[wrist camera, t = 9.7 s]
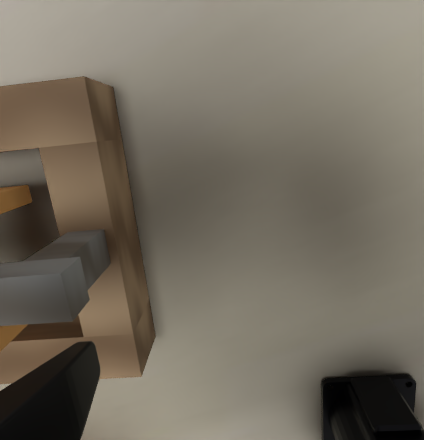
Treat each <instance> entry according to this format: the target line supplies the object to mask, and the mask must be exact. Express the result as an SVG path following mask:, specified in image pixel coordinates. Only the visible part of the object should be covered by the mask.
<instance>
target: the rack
mask: <svg viewBox="0 0 424 440" xmlns="http://www.w3.org/2000/svg"><path fill="white" fill-rule="evenodd" d="M34 148H39V152H40V156H41V160H42V164H43V168H44V172H45V177H46V181H47V185H48V189H49V193H50V198H51V202H52V206H53V210H54V214H55V219H56V223H57V227H58V231H59V235H60V238H58V239H56V240H55V241H53V242H52V243H50V244H49V245H47V246H46V247H44V248H42V249H41V250H39V251H38V252H36V253H35V254H33V255H32V256H30V257H28V258H27V259H25V260H24V261H21V262H9V263H0V326H10V325H26V324H28V325H27V326H26V327H25V328H24V329H23V330H22V331H21V332H20V333H19V334H18V335H17V336H16V337H15V338H14V339H13V340H12V341H11V342H10V343H9V344H8V345H7V346H6V347H5V348H4V349H3V350H2V351H1V352H0V384H9V383H14V382H15V381H17V380H18V379H20V378H22V377H23V376H25V375H26V374H28V373H29V372H31V371H32V370H34V369H36V368H37V367H39V366H40V365H42V364H43V363H45V362H47V361H48V360H50V359H51V358H53V357H54V356H56V355H58V354H59V353H61V352H62V351H64V350H65V349H67V348H69V347H70V346H72V345H73V344H75V343H77V342H82V341H92V342H94V344H95V346H96V350H97V355H98V359H99V363H100V377H99V379H107V378H126V377H142V374H143V371H144V368H145V365H146V362H147V359H148V356H149V354H150V351H151V348H152V345H153V342H154V339H155V330H154V325H153V319H152V313H151V307H150V301H149V295H148V289H147V283H146V278H145V272H144V266H143V260H142V254H141V248H140V242H139V237H138V231H137V225H136V219H135V213H134V207H133V201H132V195H131V190H130V184H129V178H128V172H127V166H126V160H125V154H124V148H123V143H122V137H121V131H120V125H119V119H118V113H117V107H116V102H115V96H114V90H113V87H111V86H109V85H106V84H103V83H101V82H98V81H95V80H92V79H90V78H87V77H84V76H83V77H75V78H67V79H59V80H50V81H42V82H34V83H25V84H17V85H9V86H1V87H0V152H6V151H15V150H25V149H34Z"/></svg>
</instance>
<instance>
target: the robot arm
mask: <svg viewBox="0 0 424 440" xmlns="http://www.w3.org/2000/svg"><path fill="white" fill-rule="evenodd" d="M99 377H100V363H99V359H98V355H97V350H96V346H95V344H94V342H92V341H82V342H77V343H75V344H73V345H72V346H70V347H69V348H67V349H65V350H64V351H62V352H61V353H59V354H58V355H56V356H54V357H53V358H51V359H50V360H48V361H47V362H45V363H43V364H42V365H40V366H39V367H37V368H36V369H34V370H32V371H31V372H29V373H28V374H26V375H25V376H23V377H22V378H20V379H18V380H17V381H15V382H14V383H12V384H11V385H9V386H7V387H6V388H4V389H3V390H1V391H0V440H80V439H81V436H82V434H83V430H84V427H85V424H86V421H87V418H88V414H89V411H90V408H91V404H92V401H93V397H94V394H95V391H96V387H97V384H98V381H99ZM406 382H408V383H406ZM329 385H331V386H330V387H327V386H329ZM415 392H416V382H415V380H414V379H413V378H412V376H410V375H386V376H366V377H345V378H327V379H324V380H323V381H322V383H321V403H322V440H424V429H423V428H422V425H421V423H420V422H419V420H418V419H417V417H416V416H415V414H414V405H415Z"/></svg>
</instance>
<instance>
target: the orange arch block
mask: <svg viewBox="0 0 424 440" xmlns="http://www.w3.org/2000/svg"><path fill="white" fill-rule="evenodd" d="M29 203H32V198H31V195H30V191H29V187H28V185H22V186H13V187H3V188H0V214H2V213H5V212H8V211H10V210H13V209H16V208H18V207H21V206H24V205H26V204H29ZM27 325H28V324H26V325H10V326H0V352H1V351H2V350H3V349H4V348H5V347H6V346H7V345H8V344H9V343H10V342H11V341H12V340H13V339H14V338H15V337H16V336H17V335H18V334H19V333H20V332H21V331H22V330H23V329H24V328H25V327H26V326H27Z"/></svg>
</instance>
